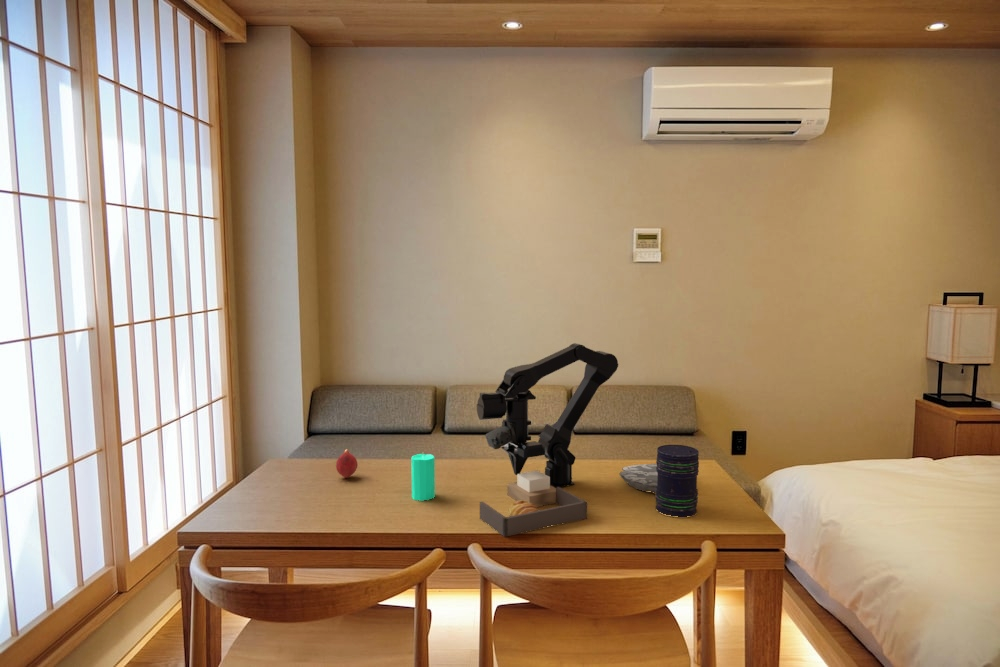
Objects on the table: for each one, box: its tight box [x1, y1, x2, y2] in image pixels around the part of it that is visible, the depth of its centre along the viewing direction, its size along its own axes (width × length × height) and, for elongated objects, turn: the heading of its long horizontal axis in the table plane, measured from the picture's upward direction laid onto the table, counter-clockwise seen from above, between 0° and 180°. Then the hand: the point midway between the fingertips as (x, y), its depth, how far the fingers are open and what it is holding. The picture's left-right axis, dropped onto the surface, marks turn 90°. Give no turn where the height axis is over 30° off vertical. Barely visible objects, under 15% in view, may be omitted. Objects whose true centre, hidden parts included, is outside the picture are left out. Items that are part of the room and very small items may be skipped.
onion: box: [335, 449, 358, 479], centre depth 187 cm, size 6×6×8 cm
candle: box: [410, 453, 436, 502], centre depth 172 cm, size 6×6×12 cm
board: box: [506, 481, 557, 508], centre depth 172 cm, size 9×11×3 cm
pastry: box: [508, 500, 540, 517], centre depth 157 cm, size 9×7×4 cm
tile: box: [516, 469, 550, 492], centre depth 171 cm, size 6×6×3 cm
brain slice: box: [618, 463, 658, 493], centre depth 183 cm, size 20×17×3 cm
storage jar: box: [655, 444, 700, 517], centre depth 163 cm, size 10×10×15 cm
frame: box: [479, 487, 588, 538], centre depth 158 cm, size 22×12×4 cm, turn 118°
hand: (516, 474), depth 179 cm, fingers closed
